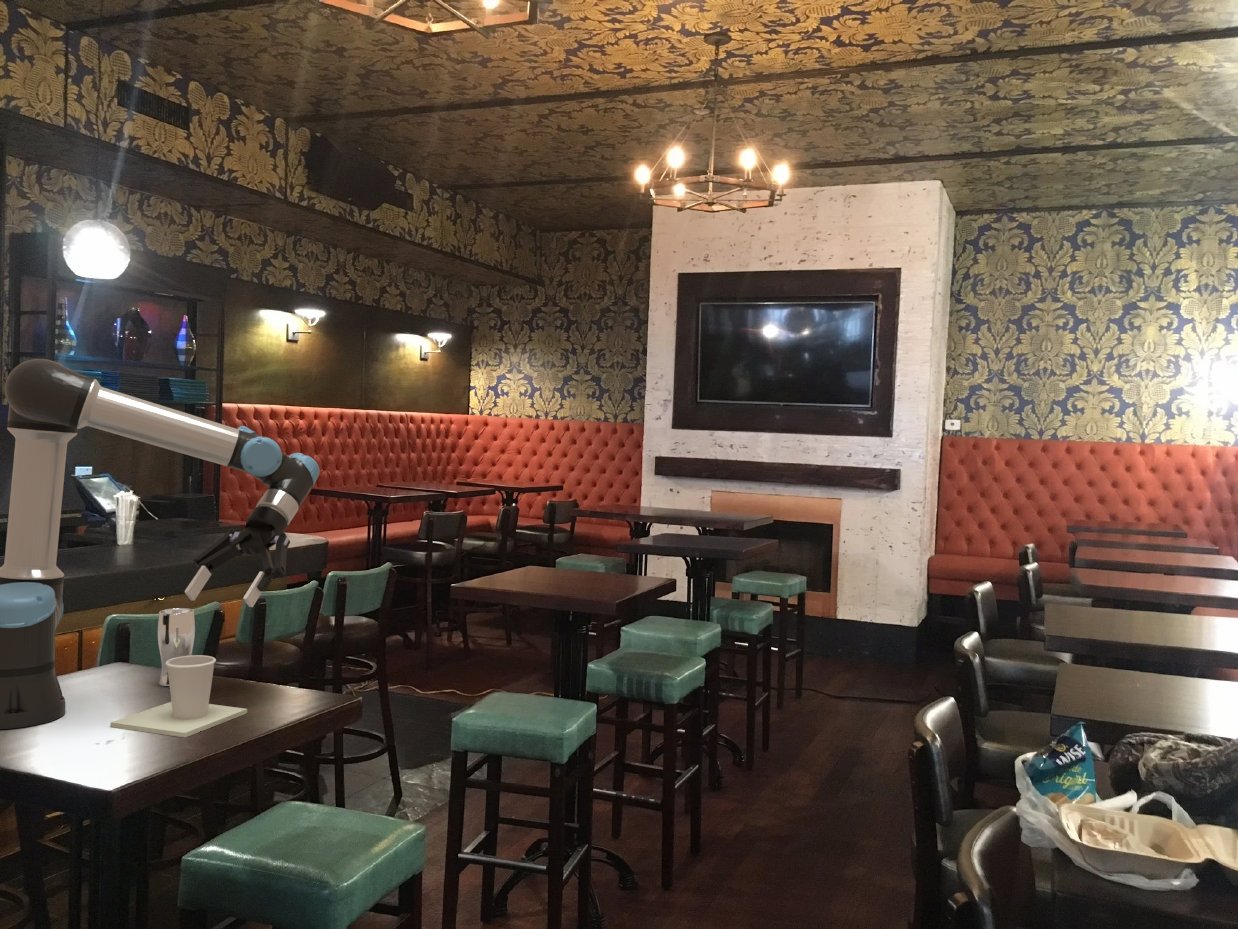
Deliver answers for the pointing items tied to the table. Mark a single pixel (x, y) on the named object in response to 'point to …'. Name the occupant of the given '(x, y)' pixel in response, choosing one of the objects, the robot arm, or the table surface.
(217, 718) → the sage mat
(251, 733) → the table surface
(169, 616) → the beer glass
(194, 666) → the dixie cup
